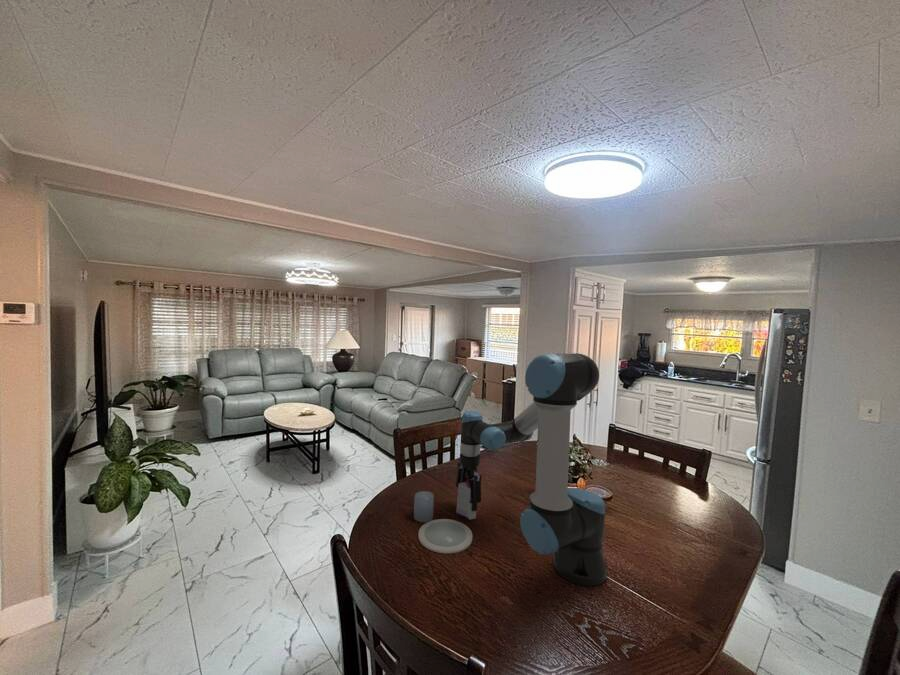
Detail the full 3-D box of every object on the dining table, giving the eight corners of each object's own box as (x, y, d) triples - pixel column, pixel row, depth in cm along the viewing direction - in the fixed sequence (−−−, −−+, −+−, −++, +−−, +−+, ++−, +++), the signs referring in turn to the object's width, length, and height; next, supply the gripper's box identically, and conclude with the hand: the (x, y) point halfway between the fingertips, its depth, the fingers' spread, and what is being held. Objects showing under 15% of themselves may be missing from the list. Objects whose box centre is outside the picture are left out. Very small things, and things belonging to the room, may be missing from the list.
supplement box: (468, 519, 136) (470, 488, 136) (455, 513, 140) (457, 483, 139) (477, 513, 141) (479, 483, 140) (464, 507, 144) (466, 479, 144)
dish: (482, 545, 121) (482, 541, 121) (432, 559, 113) (432, 555, 113) (456, 517, 137) (456, 514, 137) (410, 528, 129) (410, 524, 129)
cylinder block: (436, 519, 135) (437, 498, 135) (418, 523, 132) (419, 501, 131) (428, 510, 141) (429, 489, 141) (410, 514, 138) (411, 493, 138)
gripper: (493, 462, 132) (490, 524, 133) (465, 443, 150) (462, 498, 151) (475, 465, 128) (471, 529, 130) (448, 445, 146) (445, 502, 148)
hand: (466, 512), depth 140 cm, fingers closed on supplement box, 7 cm apart
